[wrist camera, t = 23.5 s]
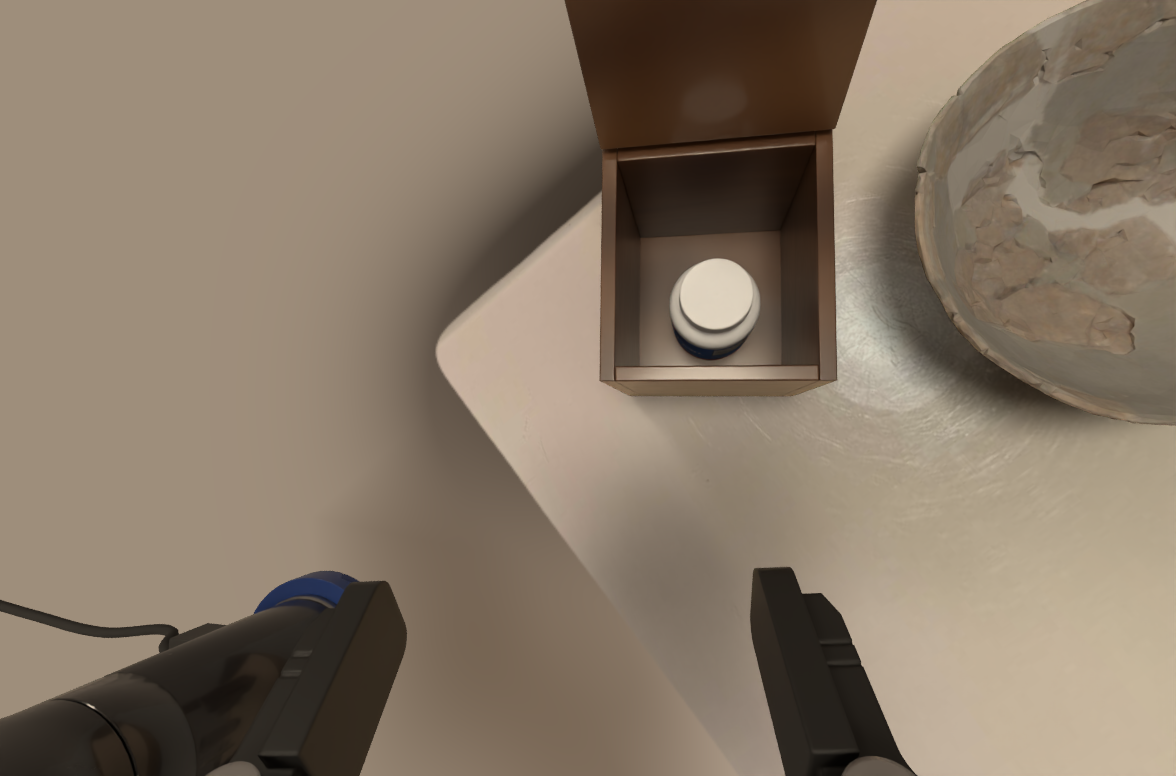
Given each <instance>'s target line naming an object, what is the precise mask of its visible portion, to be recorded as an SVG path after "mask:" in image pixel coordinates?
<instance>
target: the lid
mask: <svg viewBox="0 0 1176 776" xmlns="http://www.w3.org/2000/svg"><path fill="white" fill-rule="evenodd" d="M876 2H877V0H565V4H566V8H567V12H568V16H569V21H570V25H571V29H572V33H573V36H574V41H575V45H576V49H577V53H578V58H579V62H580V66H581V70H582V74H583V78H584V82H585V86H586V90H587V95H588V98H589V103H590V107H591V111H592V115H593V119H594V124H595V128H596V132H597V136H598V140H599V144H600V148H601V149H613V148H624V147H636V146H647V145H658V144H670V143H681V142H692V141H704V140H715V139H726V138H738V137H749V136H760V135H772V134H783V133H795V132H806V131H817V130H829V129H835V128H836V125H837V122H838V119H839V116H840V112H841V109H842V106H843V103H844V100H845V97H846V94H847V91H848V88H849V85H850V82H851V79H852V76H853V72H854V69H855V66H856V63H857V60H858V57H859V54H860V51H861V48H862V45H863V42H864V39H865V36H866V32H867V29H868V26H869V23H870V20H871V17H872V14H873V11H874V8H875V5H876Z"/></svg>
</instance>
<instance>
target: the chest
mask: <svg viewBox="0 0 1176 776" xmlns="http://www.w3.org/2000/svg"><path fill="white" fill-rule="evenodd" d="M709 259H726V260H730V261H733V262H735V263H737V264H738V265H739V266H741V267H742V268H743V269H744V270H746V271H747V272H748V273H749V274H750V275H751V277H752V278H753V279H754V281H755V283H756V285H757V287H758V290H759V293H760V313H759V317H758V320H757V322H756V324H755V326H754V328H753V329H752V331H751V332H750V334H749V336H748V337H747V339H746V340H745V342H744V343H743V345H742V346H741V347H740V348H739V349H738V350H737V351H735V352H734V353H732V354H731V355H729V356H726V357H724V358H721V359H715V360H705V359H700V358H697V357H695V356H693V355H691V354H689V353H688V352H687V351H685V350H684V349H683V348H682V347H681V345H680V344H679V342H678V341H677V339H676V337H675V334H674V330H673V326H672V321H671V317H670V311H669V301H670V295H671V292H672V289H673V287H674V285H675V283H676V281H677V280H678V279H679V277H680V276H681V275H682V274H683V273H684V272H685V271H686V270H688V269H689V268H690V267H692V266H694V265H696V264H698V263H701V262H703V261H706V260H709ZM836 380H837V346H836V293H835V241H834V188H833V135H832V129H829V130H817V131H806V132H795V133H783V134H772V135H760V136H749V137H738V138H726V139H715V140H704V141H692V142H681V143H670V144H658V145H647V146H636V147H624V148H613V149H603V163H602V239H601V317H600V381H601V382H603V383H605V384H607V385H609V386H611V387H613V388H615V389H617V390H619V391H621V392H623V393H625V394H627V395H630V396H794V395H797V394H800V393H802V392H805V391H808V390H811V389H814V388H817V387H819V386H822V385H825V384H828V383H831V382H834V381H836Z"/></svg>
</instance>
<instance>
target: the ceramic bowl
mask: <svg viewBox="0 0 1176 776" xmlns="http://www.w3.org/2000/svg"><path fill="white" fill-rule="evenodd" d="M917 169H918V172H919V173H920V174H919V175H918V181H917V185H916V188H915V193H916V196H915V236H916V242H917V248H918V253H919V256H920V259H921V262H922V266H923V269H924V272H925V275H926V278H927V279H928V281H929V283H930V284H931V286H932V288H933V290H934V291H935V293H936V295H937V296H938V298H939V300H940V301H941V303H942V305H943V307H944V309H945V311H946V313H947V314H948V316H949V318H950V319H951V321H952V322H953V323H954V325H955V326H956V328H957V329H958V330H959V332H960V333H961V334H962V335H963V336H964V337H965V338H966V339H967V340H968V341H969V342H970V343H971V344H972V345H973V346H974V348H975V349H976V350H977V351H979V352H980V353H981V354H983V355H984V356H986V357H987V358H988V359H990V360H991V361H992V362H994V363H995V364H997V365H998V366H1000V367H1001V368H1003V369H1005V370H1006V371H1008V372H1009V373H1011V374H1012V375H1014V376H1015V377H1016V378H1018V379H1019V380H1021V381H1023V382H1025V383H1027V384H1029V385H1031V386H1033V387H1034V388H1036V389H1038V390H1040V391H1041V392H1043V393H1045V394H1047V395H1049V396H1051V397H1053V398H1055V399H1057V400H1059V401H1061V402H1063V403H1065V404H1068V405H1071V406H1073V407H1076V408H1079V409H1081V410H1084V411H1086V412H1089V413H1092V414H1095V415H1099V416H1104V417H1110V418H1112V419H1119V420H1126V421H1128V422H1131V423H1140V424H1155V425H1176V0H1086V1H1084V2H1082V3H1080V4H1078V5H1076V6H1073V7H1071V8H1069V9H1067V10H1065V11H1063V12H1061V13H1058V14H1056V15H1054V16H1052V17H1049V18H1047V19H1046V20H1044V21H1042V22H1041V23H1039V24H1037V25H1036V26H1034V27H1032V28H1031V29H1029V30H1028V31H1026V32H1025V33H1023V34H1022V35H1020V36H1019V37H1017V38H1016V39H1015V40H1013V41H1012V42H1010V43H1008V44H1006V45H1005V46H1003V47H1002V48H1001V49H999V50H998V51H997V52H996V53H995V54H993V55H992V56H991V57H990V58H989V59H988V60H987V61H986V62H985V63H984V64H983V65H982V66H981V67H979V68H978V69H977V70H976V71H975V72H974V73H973V74H972V75H971V76H970V77H969V78H968V79H967V80H966V81H965V82H964V84H963V85H962V86H961V87H960V88H959V89H958V92H957V96H952V97H951V98H950V99H949V101H948V102H947V103H946V104H945V106H944V107H943V108H942V110H941V111H940V112H939V113H938V115H937V116H936V118H935V119H934V121H933V122H932V125H931V127H930V129H929V131H928V134H927V136H926V139H925V141H924V144H923V146H922V149H921V152H920V155H919V159H918V163H917Z"/></svg>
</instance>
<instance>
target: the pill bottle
mask: <svg viewBox="0 0 1176 776" xmlns="http://www.w3.org/2000/svg"><path fill="white" fill-rule="evenodd" d="M669 311H670V317H671V321H672V326H673V330H674V334H675V337H676V339H677V341H678V342H679V344H680V345H681V347H682V348H683V349H684V350H685V351H687V352H688V353H689V354H691V355H693V356H695V357H697V358H700V359H705V360H715V359H721V358H724V357H726V356H729V355H731V354H732V353H734V352H735V351H737V350H738V349H739V348H740V347H741V346H742V345H743V343H744V342H745V340H746V339H747V337H748V336H749V334H750V332H751V331H752V329H753V328H754V326H755V324H756V322H757V320H758V317H759V313H760V293H759V290H758V287H757V285H756V283H755V281H754V279H753V278H752V277H751V275H750V274H749V273H748V272H747V271H746V270H744V269H743V268H742V267H741V266H739V265H738V264H737V263H735V262H733V261H730V260H726V259H709V260H706V261H703V262H701V263H698V264H696V265H694V266H692V267H690V268H689V269H688V270H686V271H685V272H684V273H683V274H682V275H681V276H680V277H679V279H678V280H677V281H676V283H675V285H674V287H673V289H672V292H671V295H670V301H669Z"/></svg>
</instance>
